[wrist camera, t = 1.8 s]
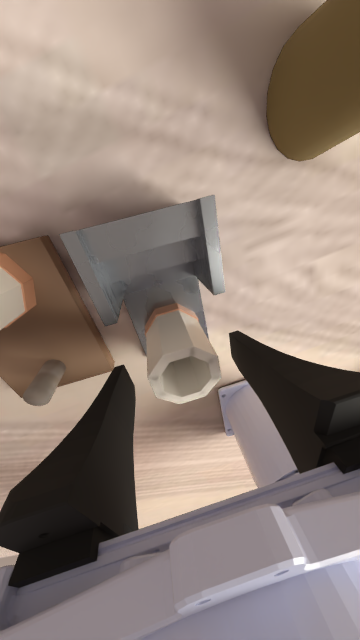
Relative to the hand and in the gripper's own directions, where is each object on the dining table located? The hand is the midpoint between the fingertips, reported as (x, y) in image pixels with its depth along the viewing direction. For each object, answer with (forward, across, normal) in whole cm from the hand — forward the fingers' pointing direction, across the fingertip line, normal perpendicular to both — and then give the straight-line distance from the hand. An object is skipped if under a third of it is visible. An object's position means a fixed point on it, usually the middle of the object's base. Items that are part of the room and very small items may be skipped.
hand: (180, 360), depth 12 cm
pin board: (+5, +10, -3) cm, 12 cm away
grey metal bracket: (+5, 0, -3) cm, 6 cm away
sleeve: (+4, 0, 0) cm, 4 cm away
